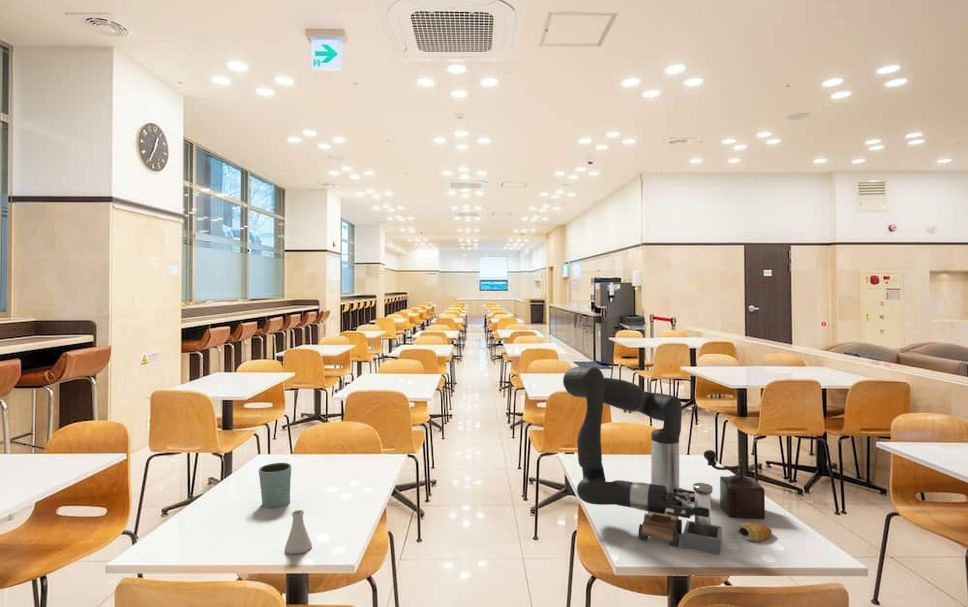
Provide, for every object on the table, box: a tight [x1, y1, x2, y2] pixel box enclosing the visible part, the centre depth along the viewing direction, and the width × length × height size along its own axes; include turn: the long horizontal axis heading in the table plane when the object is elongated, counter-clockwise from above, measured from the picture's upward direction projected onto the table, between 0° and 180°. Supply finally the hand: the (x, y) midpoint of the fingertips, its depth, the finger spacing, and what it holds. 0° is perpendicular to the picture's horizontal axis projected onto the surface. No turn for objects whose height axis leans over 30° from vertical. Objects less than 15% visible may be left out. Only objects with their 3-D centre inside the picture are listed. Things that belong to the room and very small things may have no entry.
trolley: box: [638, 510, 683, 548], centre depth 150 cm, size 14×10×5 cm
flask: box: [284, 509, 313, 555], centre depth 144 cm, size 7×7×10 cm
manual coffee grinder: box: [703, 449, 766, 520], centre depth 166 cm, size 16×11×18 cm
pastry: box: [735, 521, 772, 543], centre depth 149 cm, size 9×7×4 cm
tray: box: [682, 520, 723, 556], centre depth 144 cm, size 9×9×4 cm
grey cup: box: [258, 462, 292, 509], centre depth 175 cm, size 10×10×12 cm
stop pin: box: [692, 482, 713, 537], centre depth 144 cm, size 5×5×15 cm
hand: (710, 507), depth 143 cm, fingers open, 8 cm apart
